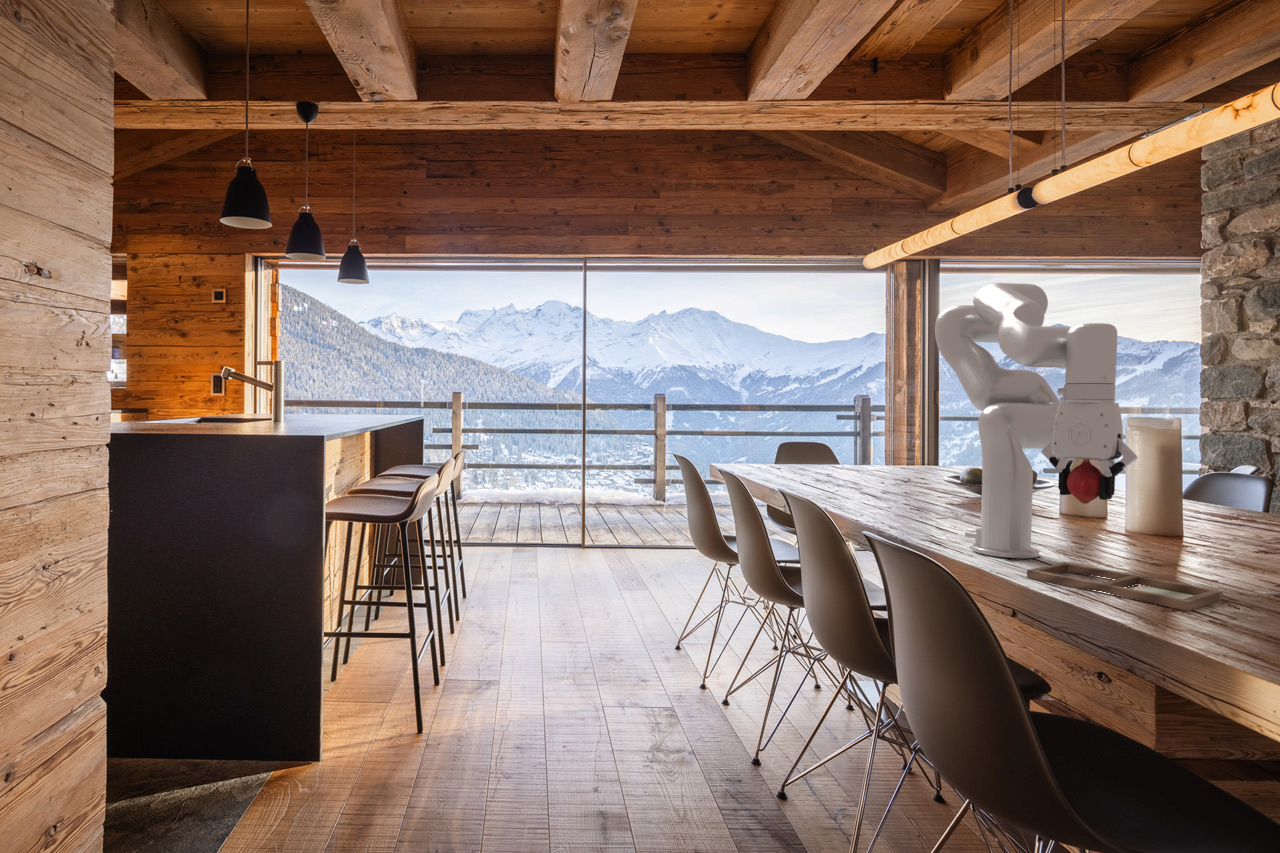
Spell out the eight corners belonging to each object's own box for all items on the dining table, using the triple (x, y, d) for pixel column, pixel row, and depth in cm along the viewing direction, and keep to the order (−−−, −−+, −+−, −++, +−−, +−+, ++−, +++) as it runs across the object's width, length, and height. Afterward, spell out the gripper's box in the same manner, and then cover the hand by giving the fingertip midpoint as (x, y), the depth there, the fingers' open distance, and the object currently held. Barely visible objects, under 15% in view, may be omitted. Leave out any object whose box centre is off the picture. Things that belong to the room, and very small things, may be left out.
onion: (1110, 506, 124) (1112, 460, 124) (1073, 505, 126) (1075, 459, 125) (1096, 502, 130) (1097, 457, 130) (1061, 500, 131) (1062, 456, 131)
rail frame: (1026, 577, 130) (1027, 569, 130) (1063, 569, 137) (1064, 562, 137) (1188, 611, 109) (1189, 601, 109) (1222, 599, 116) (1222, 591, 116)
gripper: (1029, 394, 132) (1025, 492, 133) (1134, 394, 118) (1129, 504, 119) (1050, 394, 136) (1047, 490, 137) (1155, 395, 122) (1150, 501, 123)
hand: (1085, 495), depth 128 cm, fingers closed on onion, 5 cm apart
